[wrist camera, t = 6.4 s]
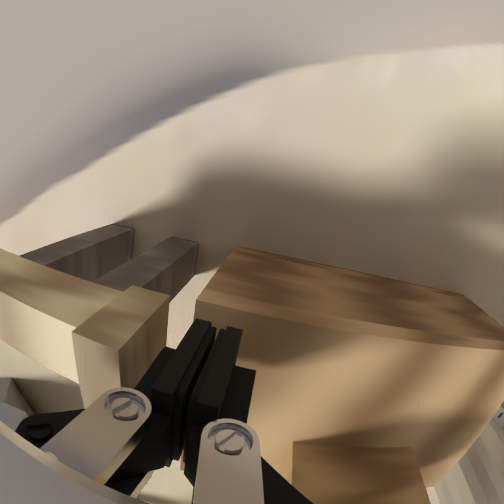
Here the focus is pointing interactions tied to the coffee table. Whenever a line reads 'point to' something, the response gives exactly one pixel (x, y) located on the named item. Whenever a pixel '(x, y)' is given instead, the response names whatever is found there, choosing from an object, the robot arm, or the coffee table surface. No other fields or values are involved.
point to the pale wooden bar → (81, 325)
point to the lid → (359, 399)
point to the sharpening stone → (13, 396)
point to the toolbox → (267, 282)
